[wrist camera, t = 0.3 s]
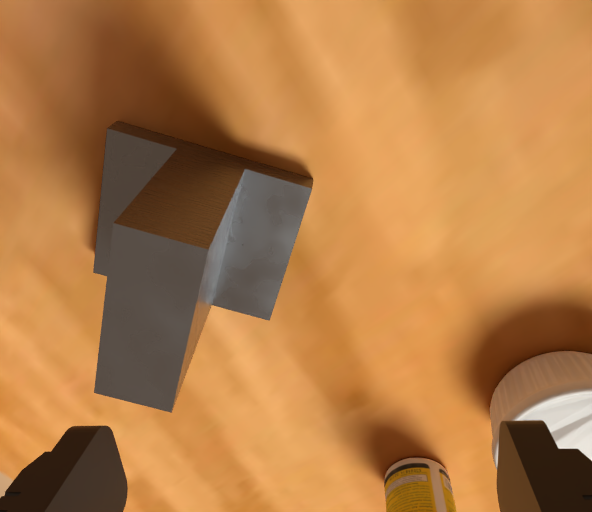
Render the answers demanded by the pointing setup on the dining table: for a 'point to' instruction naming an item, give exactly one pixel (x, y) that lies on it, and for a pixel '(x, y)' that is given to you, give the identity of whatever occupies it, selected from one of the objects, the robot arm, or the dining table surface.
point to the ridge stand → (183, 253)
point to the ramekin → (548, 398)
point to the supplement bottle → (418, 487)
